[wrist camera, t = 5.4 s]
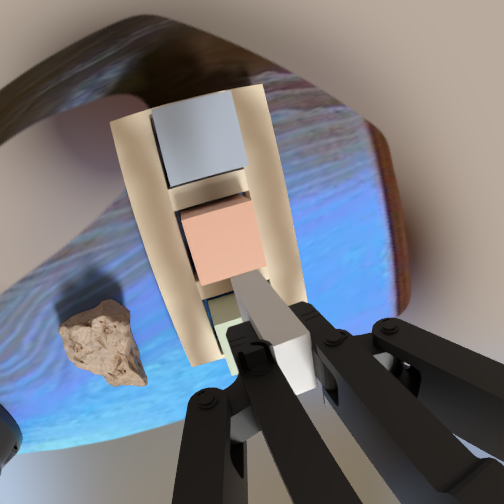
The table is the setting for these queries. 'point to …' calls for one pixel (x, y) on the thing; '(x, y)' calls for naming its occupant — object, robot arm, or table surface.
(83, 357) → the stone
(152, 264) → the socket board
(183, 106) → the slate block
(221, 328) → the sage block
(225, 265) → the terracotta block
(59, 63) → the table surface
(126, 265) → the table surface
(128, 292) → the table surface
